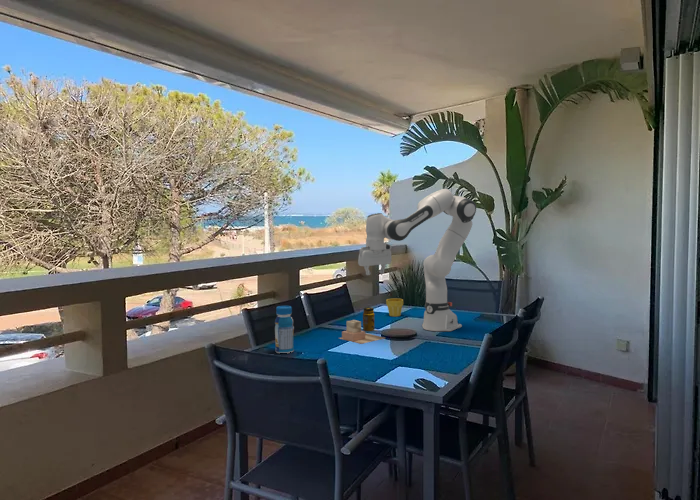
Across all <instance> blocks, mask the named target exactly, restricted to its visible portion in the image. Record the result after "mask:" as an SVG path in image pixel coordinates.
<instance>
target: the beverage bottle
mask: <svg viewBox="0 0 700 500" xmlns="http://www.w3.org/2000/svg"><path fill="white" fill-rule="evenodd" d="M275 309H276V312H275V313H276V318H275V320H274V324H275V326H274V335H275V336H274V337H275V338H274V339H275V340H274V341H275V342H274V343H275V349H274V350H275V352H276V353H277V354H280V353H287V354H291V353H293V352H294V351H295V347H294V346H295V345H294V343H295V342H294V340H295V339H294V332H295V331H294V330H295V326H294V319H293V317H292V313H293V307H292V306H291V305H278V306H276V308H275ZM290 352H291V353H290Z"/></svg>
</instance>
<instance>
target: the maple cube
mask: <svg viewBox="0 0 700 500" xmlns="http://www.w3.org/2000/svg"><path fill="white" fill-rule="evenodd" d="M345 325H346V331H347V332H350V333H357V332H361V331H362V321H359V320H356V319H352V320H351V319H350V320H346V324H345Z"/></svg>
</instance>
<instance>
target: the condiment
mask: <svg viewBox="0 0 700 500" xmlns="http://www.w3.org/2000/svg"><path fill="white" fill-rule="evenodd" d="M374 311H375V310H374V308H373V307H371V306H370V307H364V308H363V313H362V329H363V330H362V331H365V332H373V331H375V332H378V330H376V329H375V313H374Z"/></svg>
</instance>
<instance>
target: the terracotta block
mask: <svg viewBox="0 0 700 500" xmlns="http://www.w3.org/2000/svg"><path fill="white" fill-rule="evenodd" d="M365 333H366V331H364V330H361V332H357V333H350V332H347V330H343V331H341V338H342V339H341V340H343V339H345V340H344V341H347V340H349V341H348V342H351V341H358V340H362V339H365Z"/></svg>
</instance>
